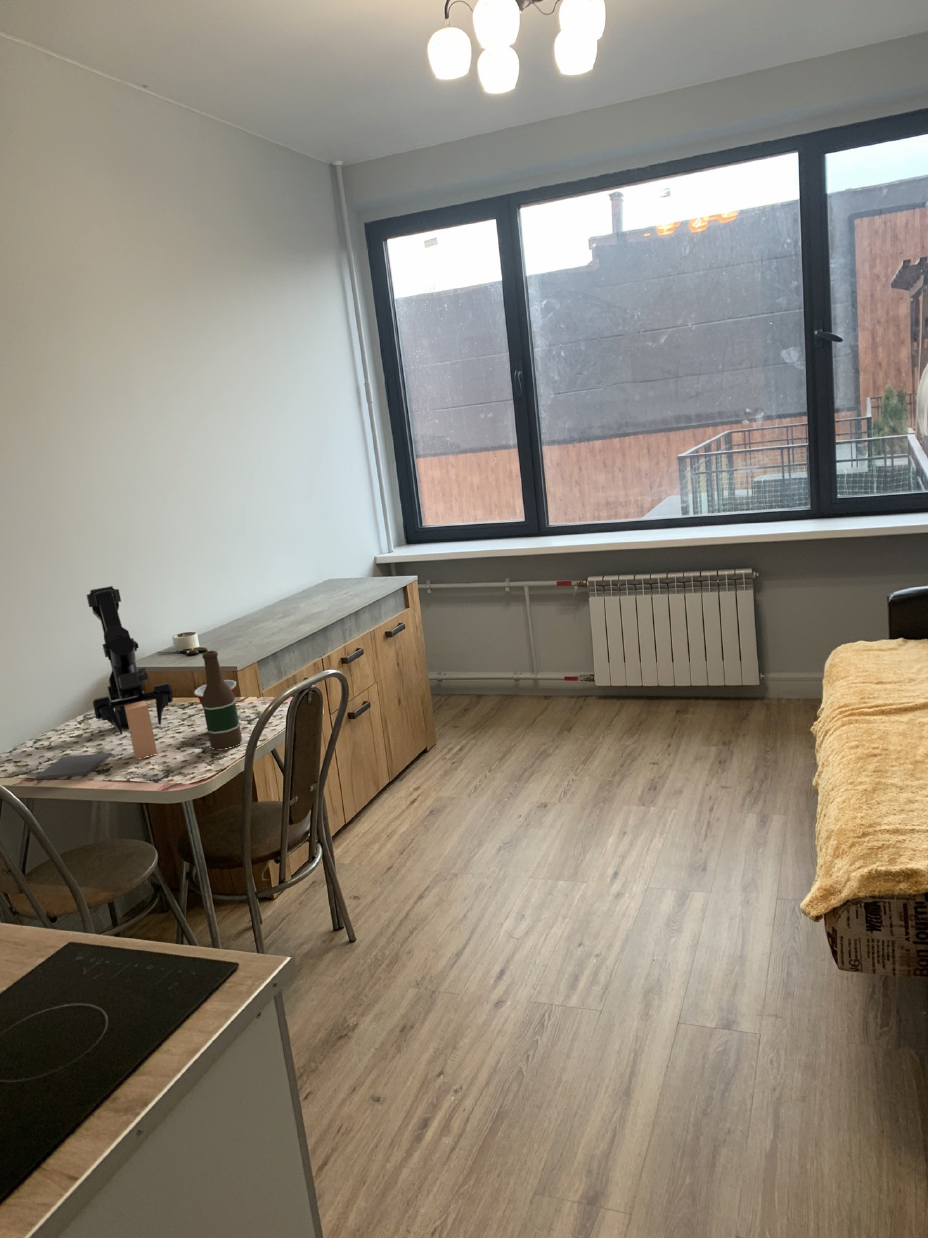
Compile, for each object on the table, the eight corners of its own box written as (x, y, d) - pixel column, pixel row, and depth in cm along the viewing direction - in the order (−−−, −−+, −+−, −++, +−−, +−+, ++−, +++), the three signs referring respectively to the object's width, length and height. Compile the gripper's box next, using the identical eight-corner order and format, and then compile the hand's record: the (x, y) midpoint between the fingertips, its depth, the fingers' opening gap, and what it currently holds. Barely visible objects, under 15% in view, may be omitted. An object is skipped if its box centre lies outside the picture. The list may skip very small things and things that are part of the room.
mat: (62, 760, 236) (62, 757, 236) (111, 755, 235) (110, 752, 235) (35, 779, 223) (35, 776, 223) (87, 774, 222) (86, 771, 222)
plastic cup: (193, 736, 242) (185, 692, 239) (218, 722, 252) (210, 680, 249) (228, 737, 238) (219, 692, 235) (252, 722, 247) (244, 679, 245)
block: (134, 754, 233) (124, 705, 230) (154, 749, 235) (144, 700, 232) (136, 760, 229) (126, 709, 226) (157, 754, 231) (147, 704, 228)
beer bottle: (248, 739, 233) (232, 647, 228) (231, 751, 226) (213, 655, 221) (222, 739, 236) (205, 648, 231) (204, 751, 229) (186, 656, 224)
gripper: (85, 668, 227) (98, 721, 220) (163, 651, 235) (178, 702, 227) (89, 692, 236) (102, 744, 228) (165, 676, 243) (179, 725, 236)
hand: (140, 728), depth 229 cm, fingers open, 9 cm apart
